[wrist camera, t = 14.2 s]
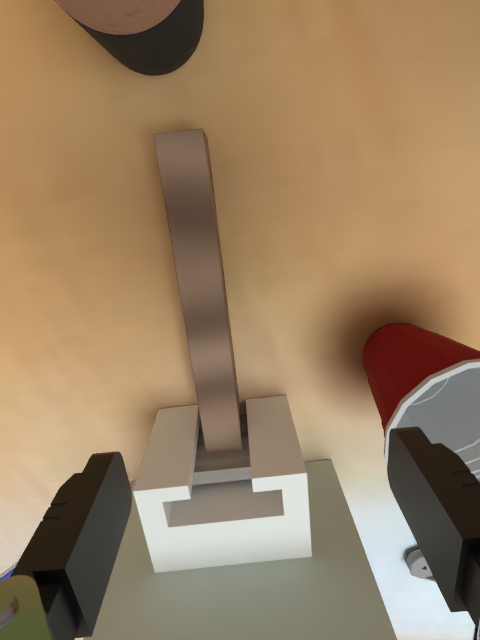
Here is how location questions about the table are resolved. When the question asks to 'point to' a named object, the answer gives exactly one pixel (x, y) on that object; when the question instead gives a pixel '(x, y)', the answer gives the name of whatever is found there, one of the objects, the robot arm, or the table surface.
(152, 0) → the travel mug
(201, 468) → the post on square base
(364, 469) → the table surface
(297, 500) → the grey upright panel
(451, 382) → the plastic cup
